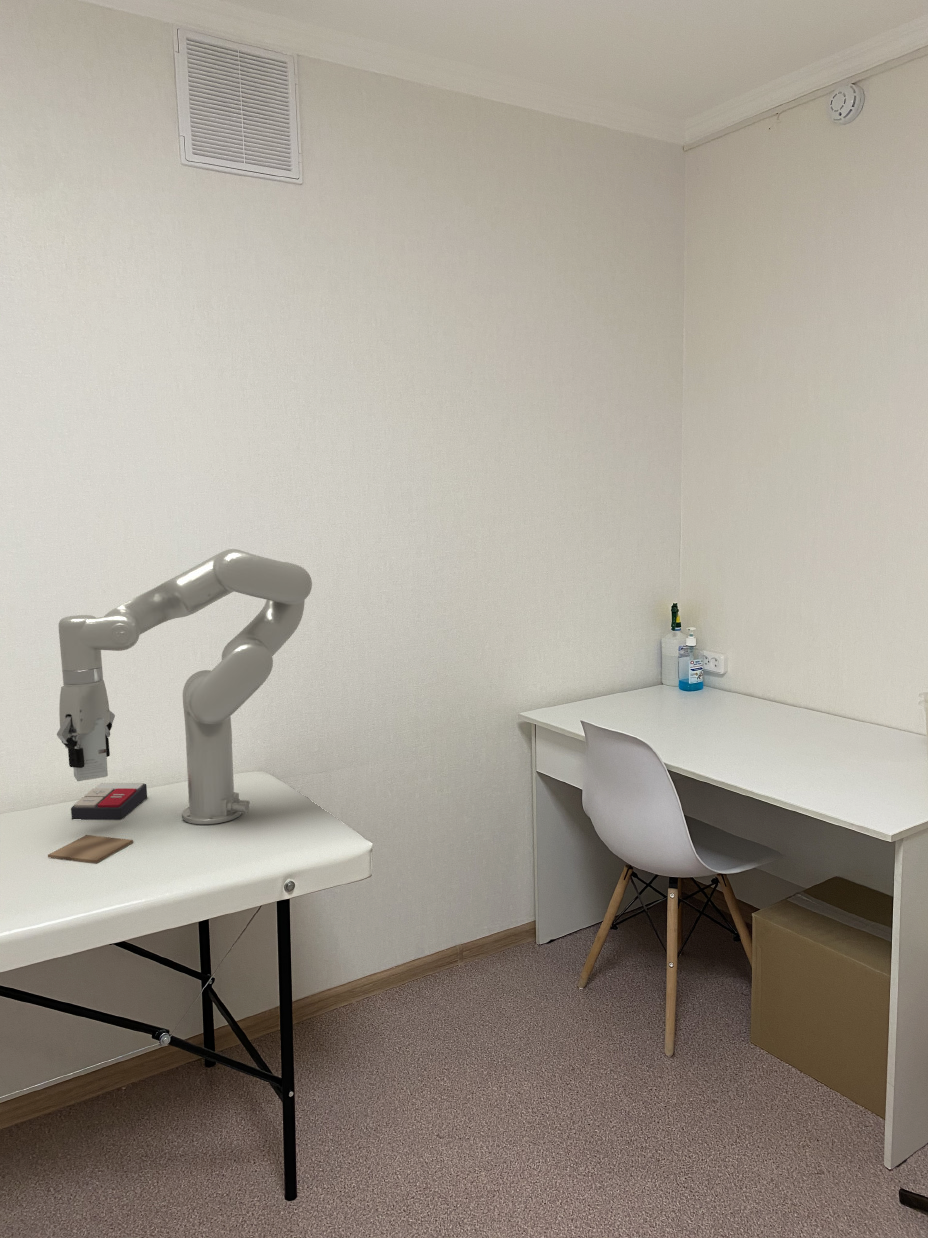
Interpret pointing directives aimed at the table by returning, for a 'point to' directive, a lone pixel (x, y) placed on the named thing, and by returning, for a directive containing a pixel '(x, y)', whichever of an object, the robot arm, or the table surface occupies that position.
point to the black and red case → (109, 801)
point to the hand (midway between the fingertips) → (90, 761)
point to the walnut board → (91, 849)
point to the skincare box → (93, 754)
